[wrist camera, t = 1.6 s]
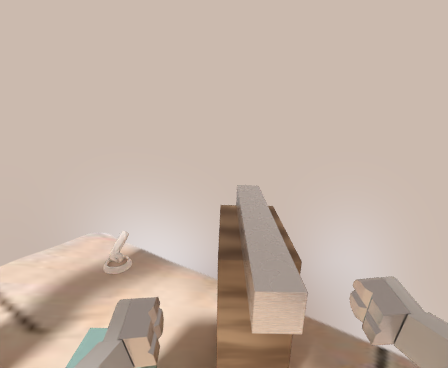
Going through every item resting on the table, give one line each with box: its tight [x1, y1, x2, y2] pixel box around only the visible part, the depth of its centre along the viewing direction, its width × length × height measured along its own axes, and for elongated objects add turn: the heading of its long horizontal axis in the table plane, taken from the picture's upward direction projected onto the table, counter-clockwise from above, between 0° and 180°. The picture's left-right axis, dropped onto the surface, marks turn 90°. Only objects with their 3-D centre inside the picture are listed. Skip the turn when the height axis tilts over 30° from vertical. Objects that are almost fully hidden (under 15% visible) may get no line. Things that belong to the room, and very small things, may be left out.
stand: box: [217, 205, 302, 368], centre depth 41 cm, size 18×10×26 cm, turn 0°
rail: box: [236, 185, 308, 334], centre depth 32 cm, size 28×4×4 cm, turn 0°
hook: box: [103, 231, 132, 274], centre depth 71 cm, size 8×12×7 cm
